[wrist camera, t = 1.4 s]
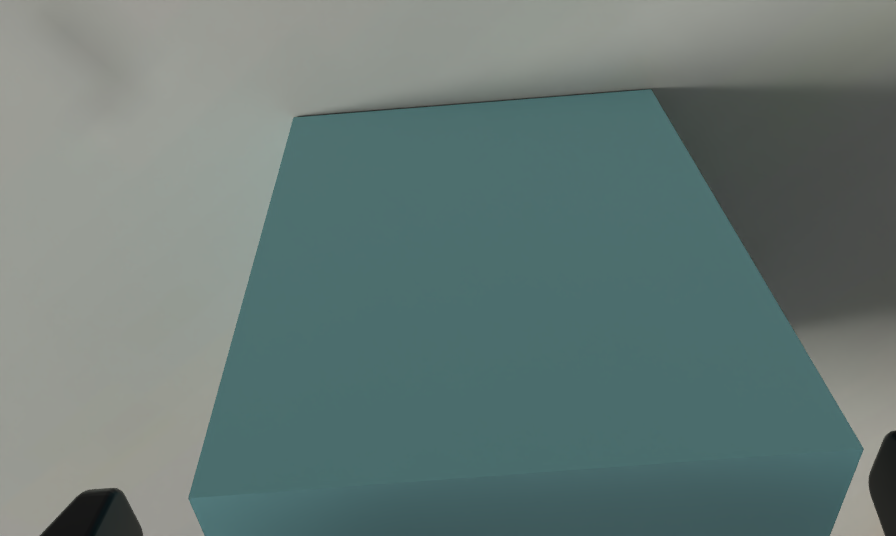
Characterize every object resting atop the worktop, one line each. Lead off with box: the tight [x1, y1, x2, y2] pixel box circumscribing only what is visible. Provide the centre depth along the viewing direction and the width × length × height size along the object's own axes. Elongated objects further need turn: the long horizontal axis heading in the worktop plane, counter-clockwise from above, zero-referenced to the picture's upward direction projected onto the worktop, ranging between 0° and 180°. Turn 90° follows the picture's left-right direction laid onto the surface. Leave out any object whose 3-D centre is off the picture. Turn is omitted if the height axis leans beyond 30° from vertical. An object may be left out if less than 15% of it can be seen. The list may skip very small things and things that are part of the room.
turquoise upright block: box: [189, 89, 863, 536], centre depth 10 cm, size 5×5×7 cm
